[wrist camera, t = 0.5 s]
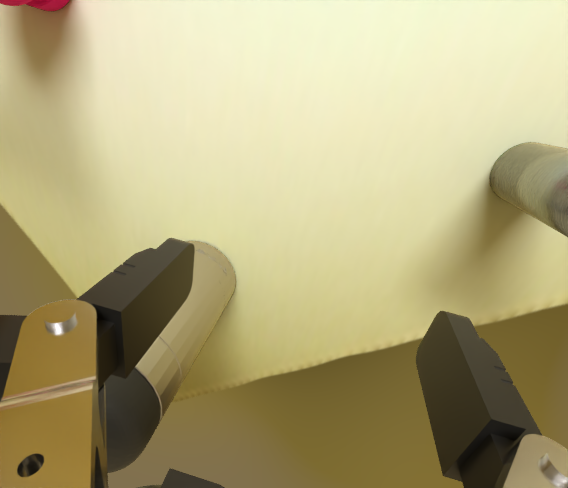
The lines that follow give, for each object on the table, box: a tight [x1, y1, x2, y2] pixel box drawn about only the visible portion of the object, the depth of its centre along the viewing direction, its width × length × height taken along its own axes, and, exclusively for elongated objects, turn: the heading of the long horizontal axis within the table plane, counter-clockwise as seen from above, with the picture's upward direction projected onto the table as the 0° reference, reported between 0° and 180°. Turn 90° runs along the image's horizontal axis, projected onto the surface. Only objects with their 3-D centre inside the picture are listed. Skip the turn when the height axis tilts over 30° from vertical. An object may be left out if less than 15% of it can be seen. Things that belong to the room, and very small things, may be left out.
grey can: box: [490, 142, 568, 237], centre depth 22 cm, size 5×5×12 cm
